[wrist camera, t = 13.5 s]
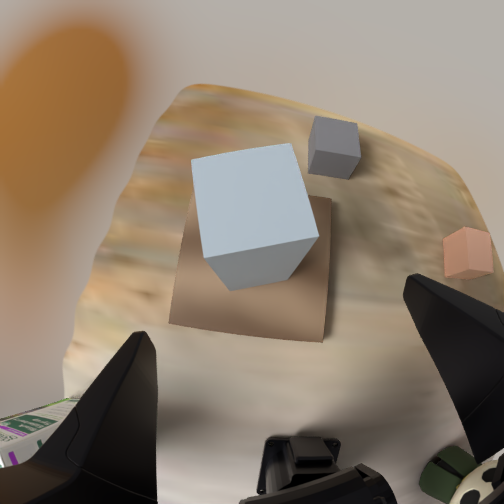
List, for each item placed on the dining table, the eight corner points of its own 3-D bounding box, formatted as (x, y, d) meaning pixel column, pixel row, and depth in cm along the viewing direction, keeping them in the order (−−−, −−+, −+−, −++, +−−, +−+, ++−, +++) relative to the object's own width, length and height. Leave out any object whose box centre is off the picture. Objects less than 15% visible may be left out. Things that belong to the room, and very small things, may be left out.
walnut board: (318, 341, 21) (322, 342, 20) (172, 323, 22) (168, 323, 20) (328, 204, 24) (331, 198, 23) (196, 189, 25) (194, 183, 23)
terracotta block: (469, 279, 22) (493, 272, 18) (444, 277, 22) (469, 269, 18) (467, 243, 23) (489, 232, 19) (442, 239, 23) (465, 226, 19)
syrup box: (110, 398, 20) (-6, 443, 6) (128, 453, 18) (40, 528, 4) (67, 397, 19) (-43, 423, 5) (83, 449, 18) (-9, 499, 4)
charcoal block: (347, 179, 25) (361, 157, 21) (307, 173, 25) (315, 149, 21) (345, 147, 26) (356, 123, 22) (308, 141, 26) (315, 115, 22)
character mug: (462, 416, 18) (546, 440, 6) (478, 445, 17) (547, 470, 4) (389, 489, 17) (451, 552, 4) (412, 510, 15) (466, 561, 3)
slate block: (287, 279, 21) (319, 236, 11) (229, 291, 21) (203, 258, 10) (275, 225, 22) (290, 142, 12) (220, 236, 22) (191, 159, 11)
